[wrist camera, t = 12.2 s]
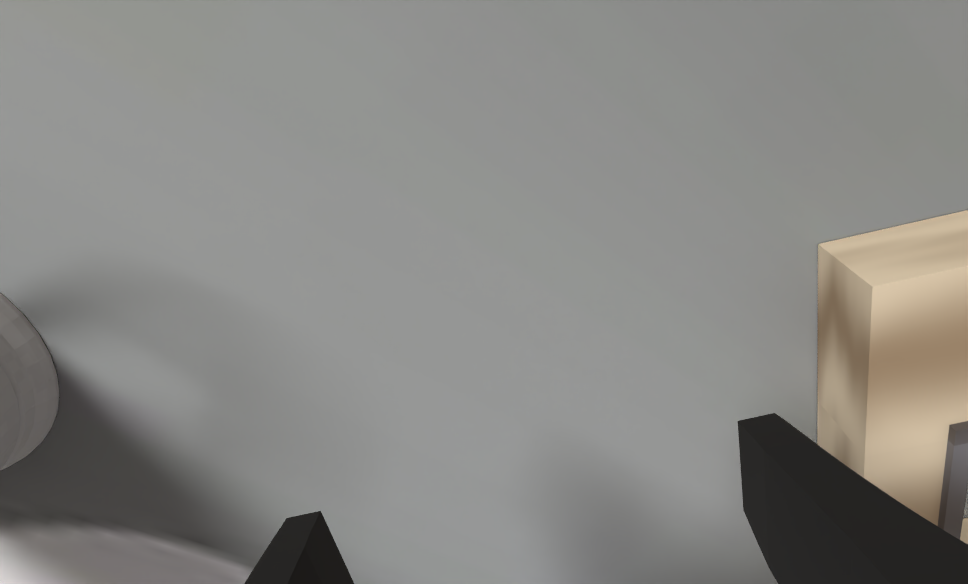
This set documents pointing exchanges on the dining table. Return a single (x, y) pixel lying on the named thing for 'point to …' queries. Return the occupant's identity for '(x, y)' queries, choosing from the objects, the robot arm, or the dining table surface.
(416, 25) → the dining table surface
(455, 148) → the dining table surface
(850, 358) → the socket plate
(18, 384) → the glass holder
